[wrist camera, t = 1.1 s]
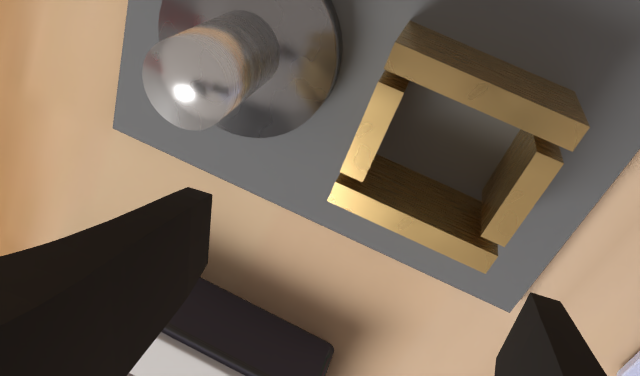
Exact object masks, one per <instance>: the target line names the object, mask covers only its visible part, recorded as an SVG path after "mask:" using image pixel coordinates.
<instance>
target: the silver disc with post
mask: <svg viewBox="0 0 640 376" xmlns="http://www.w3.org/2000/svg"><path fill="white" fill-rule="evenodd" d="M158 33H159V42H158V43H156V44H155V45H154V46H153V47H152V48H151V49H150V50H149V52H148V53H147V55H146V57H145V60H144V63H143V69H142V79H143V85H144V88H145V91H146V94H147V96H148V98H149V100H150V102H151V104H152V105H153V107H154V108H155V109H156V111H157V112H158V113H159V114H160V115H161V116H162V117H163V118H165V119H166V120H167V121H169V122H170V123H172V124H173V125H175V126H177V127H180V128H183V129H186V130H204V129H207V128H210V127H212V126H213V125H215V126H216V127H218V128H220V129H222V130H225V131H227V132H230V133H232V134H236V135H239V136H243V137H251V138H268V137H275V136H279V135H282V134H286V133H288V132H290V131H292V130H295V129H296V128H298V127H299V126H301V125H303V124H304V123H305V122H306V121H307V120H309V119H310V118H311V117H312V116H313V115H314V114H315V112H316V111H317V110H318V109H319V108H320V107H321V105H322V104H323V103H324V102H325V100H326V99H327V98H328V96H329V95H330V93H331V91H332V90H333V88H334V85H335V83H336V81H337V78H338V75H339V72H340V68H341V62H342V53H343V41H342V31H341V27H340V22H339V18H338V15H337V12H336V10H335V7H334V5H333V3H332V1H331V0H162V4H161V8H160V12H159V23H158Z"/></svg>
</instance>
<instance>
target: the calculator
mask: <svg viewBox="0 0 640 376" xmlns="http://www.w3.org/2000/svg"><path fill="white" fill-rule="evenodd" d="M333 352H334V348H333V346H332V345H331V344H329V343H328V342H326V341H324V340H322V339H320V338H318V337H316V336H314V335H312V334H310V333H309V332H307V331H305V330H303V329H301V328H299V327H297V326H295V325H293V324H291V323H289V322H287V321H285V320H283V319H281V318H279V317H277V316H275V315H273V314H271V313H269V312H267V311H265V310H263V309H261V308H259V307H257V306H255V305H254V304H252V303H250V302H248V301H246V300H244V299H242V298H240V297H238V296H236V295H234V294H232V293H230V292H228V291H226V290H224V289H222V288H220V287H218V286H216V285H214V284H212V283H210V282H208V281H206V280H204V279H202V278H200V277H199V279H198V281H197V283H196V284H195V286H194V288H193V289H192V291H191V293H190V294H189V296H188V298H187V299H186V300H185V302H184V303H183V304H182V306H181V307H180V308H179V310H178V311H177V312H176V313H175V315H174V316H173V317H172V319H171V320H170V321H169V323H168V324H167V325H166V326H165V328H164V329H163V330H162V332H161V333H160V334H159V335H158V337H157V338H156V339H155V340H154V342H153V343H152V344H151V346H150V347H149V348H148V349H147V351H146V352H145V353H144V354H143V356H142V357H141V358H140V360H139V361H138V362H137V363H136V365H135V366H134V367H133V369H132V370H131V371H130V372H129V374H128V375H127V376H325V375H326V372H327V369H328V367H329V364H330V361H331V358H332V355H333Z"/></svg>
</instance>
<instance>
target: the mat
mask: <svg viewBox="0 0 640 376" xmlns="http://www.w3.org/2000/svg"><path fill="white" fill-rule="evenodd" d="M331 1H332V3H333V5H334V7H335V10H336V12H337V15H338V18H339V22H340V27H341V31H342V41H343V53H342V62H341V68H340V72H339V75H338V78H337V81H336V83H335V85H334V88H333V90H332V91H331V93H330V95H329V96H328V98H327V99H326V100H325V102H324V103H323V104H322V105H321V107H320V108H319V109H318V110H317V111H316V112H315V114H314V115H313V116H312V117H311V118H310V119H309V120H307V121H306V122H305V123H304V124H303V125H301V126H299V127H298V128H296V129H295V130H292V131H290V132H288V133H286V134H282V135H279V136H275V137H268V138H251V137H243V136H239V135H236V134H232V133H230V132H227V131H225V130H222V129H220V128H218V127H216V126H215V125H213V126H212V127H210V128H207V129H204V130H186V129H183V128H180V127H177V126H175V125H173V124H172V123H170V122H169V121H167V120H166V119H165V118H163V117H162V116H161V115H160V114H159V113H158V112H157V111H156V109H155V108H154V107H153V105H152V104H151V102H150V100H149V98H148V96H147V94H146V91H145V88H144V85H143V79H142V69H143V63H144V60H145V57H146V55H147V53H148V52H149V50H150V49H151V48H152V47H153V46H154V45H155V44H156V43H158V42H159V33H158V23H159V12H160V8H161V4H162V0H128V8H127V16H126V24H125V32H124V40H123V48H122V57H121V65H120V73H119V81H118V89H117V97H116V105H115V113H114V121H113V129H115V130H118V131H120V132H122V133H124V134H126V135H128V136H131V137H133V138H135V139H137V140H139V141H141V142H143V143H146V144H148V145H150V146H152V147H154V148H156V149H158V150H161V151H163V152H165V153H167V154H169V155H171V156H174V157H176V158H178V159H180V160H182V161H184V162H186V163H189V164H191V165H193V166H195V167H197V168H199V169H201V170H204V171H206V172H208V173H210V174H212V175H214V176H217V177H219V178H221V179H223V180H225V181H227V182H229V183H232V184H234V185H236V186H238V187H240V188H242V189H244V190H247V191H249V192H251V193H253V194H255V195H257V196H260V197H262V198H264V199H266V200H268V201H270V202H272V203H275V204H277V205H279V206H281V207H283V208H285V209H287V210H290V211H292V212H294V213H296V214H298V215H300V216H303V217H305V218H307V219H309V220H311V221H313V222H315V223H318V224H320V225H322V226H324V227H326V228H328V229H330V230H333V231H335V232H337V233H339V234H341V235H343V236H346V237H348V238H350V239H352V240H354V241H356V242H358V243H361V244H363V245H365V246H367V247H369V248H371V249H374V250H376V251H378V252H380V253H382V254H384V255H386V256H389V257H391V258H393V259H395V260H397V261H399V262H401V263H404V264H406V265H408V266H410V267H412V268H414V269H417V270H419V271H421V272H423V273H425V274H427V275H429V276H432V277H434V278H436V279H438V280H440V281H442V282H444V283H447V284H449V285H451V286H453V287H455V288H457V289H460V290H462V291H464V292H466V293H468V294H470V295H472V296H475V297H477V298H479V299H481V300H483V301H485V302H487V303H490V304H492V305H494V306H496V307H498V308H500V309H503V310H505V311H507V312H509V313H510V312H511V310H512V309H513V308H514V307H515V305H516V304H517V303H518V302H519V300H520V299H521V298H522V297H523V295H524V294H525V293H526V291H527V290H528V289H529V288H530V286H531V285H532V284H533V283H534V281H535V280H536V279H537V278H538V276H539V275H540V274H541V273H542V271H543V270H544V269H545V268H546V266H547V265H548V264H549V262H550V261H551V260H552V259H553V257H554V256H555V255H556V254H557V252H558V251H559V250H560V249H561V247H562V246H563V245H564V244H565V242H566V241H567V240H568V239H569V237H570V236H571V235H572V233H573V232H574V231H575V230H576V228H577V227H578V226H579V225H580V223H581V222H582V221H583V220H584V218H585V217H586V216H587V215H588V213H589V212H590V211H591V210H592V208H593V207H594V206H595V205H596V203H597V202H598V201H599V199H600V198H601V197H602V196H603V194H604V193H605V192H606V191H607V189H608V188H609V187H610V186H611V184H612V183H613V182H614V181H615V179H616V178H617V177H618V176H619V174H620V173H621V172H622V170H623V169H624V168H625V167H626V165H627V164H628V163H629V162H630V160H631V159H632V158H633V157H634V155H635V154H636V153H637V152H638V150H639V149H640V0H331ZM409 20H410V21H412V22H415V23H417V24H419V25H422V26H424V27H426V28H429V29H431V30H433V31H436V32H438V33H440V34H443V35H445V36H447V37H449V38H452V39H454V40H456V41H459V42H461V43H463V44H466V45H468V46H470V47H473V48H475V49H477V50H480V51H482V52H484V53H487V54H489V55H491V56H494V57H496V58H498V59H501V60H503V61H505V62H508V63H510V64H512V65H514V66H517V67H519V68H521V69H524V70H526V71H528V72H531V73H533V74H535V75H538V76H540V77H542V78H545V79H547V80H549V81H552V82H554V83H556V84H559V85H561V86H563V87H566V88H568V89H570V90H572V91H575V93H576V96H577V98H578V100H579V103H580V105H581V107H582V109H583V112H584V114H585V116H586V119H587V121H588V123H589V126H590V128H589V129H588V131H587V132H586V134H585V135H584V136H583V138H582V139H581V141H580V142H579V143H578V145H577V146H576V148H575V149H574V150H573V152H572V151H569V150H567V149H565V148H563V147H560V146H559V147H560V151H561V155H562V158H563V162H564V164H563V166H562V167H561V169H560V170H559V172H558V173H557V174H556V176H555V177H554V179H553V180H552V181H551V183H550V184H549V186H548V187H547V188H546V190H545V191H544V193H543V194H542V195H541V197H540V198H539V200H538V201H537V202H536V204H535V205H534V207H533V208H532V209H531V211H530V212H529V214H528V215H527V217H526V218H525V219H524V221H523V222H522V224H521V225H520V226H519V228H518V229H517V231H516V232H515V233H514V235H513V236H512V238H511V239H510V240H509V242H508V243H507V245H506V246H505V247H503V246H501V245H499V244H498V257H497V259H496V260H495V262H494V263H493V264H492V266H491V267H490V269H489V270H488V271H487V273H486V274H484V273H482V272H480V271H478V270H476V269H473V268H471V267H469V266H467V265H465V264H463V263H460V262H458V261H456V260H454V259H452V258H450V257H447V256H445V255H443V254H441V253H439V252H437V251H434V250H432V249H430V248H428V247H426V246H424V245H421V244H419V243H417V242H415V241H413V240H411V239H408V238H406V237H404V236H402V235H400V234H398V233H395V232H393V231H391V230H389V229H387V228H385V227H382V226H380V225H378V224H376V223H374V222H372V221H369V220H367V219H365V218H363V217H361V216H359V215H356V214H354V213H352V212H350V211H348V210H346V209H343V208H341V207H339V206H337V205H335V204H333V203H330V202H328V201H327V200H328V198H329V196H330V193H331V191H332V189H333V186H334V184H335V182H336V180H337V178H338V176H339V174H340V173H341V172H340V170H341V167H342V165H343V163H344V160H345V158H346V156H347V153H348V151H349V149H350V146H351V144H352V142H353V139H354V137H355V135H356V132H357V130H358V128H359V125H360V123H361V121H362V118H363V116H364V114H365V111H366V109H367V106H368V104H369V102H370V99H371V97H372V95H373V92H374V90H375V88H376V85H377V83H378V81H379V79H380V78H381V76H382V75H383V73H384V71H385V69H384V67H385V64H386V62H387V60H388V57H389V55H390V53H391V50H392V48H393V46H394V43H395V41H396V40H397V38H398V37H399V35H400V34H401V32H402V31H403V29H404V28H405V26H406V25H407V23H408V22H409ZM519 131H520V129H519V128H517V127H515V126H512V125H510V124H508V123H506V122H503V121H501V120H499V119H496V118H494V117H492V116H490V115H487V114H485V113H483V112H481V111H478V110H476V109H474V108H471V107H469V106H467V105H465V104H462V103H460V102H458V101H456V100H453V99H451V98H449V97H446V96H444V95H442V94H440V93H437V92H435V91H433V90H430V89H428V88H426V87H424V86H421V85H419V84H417V83H415V82H412V81H409V83H408V85H407V88H406V90H405V92H404V94H403V97H402V99H401V101H400V103H399V105H398V107H397V109H396V112H395V114H394V116H393V118H392V120H391V122H390V125H389V127H388V129H387V131H386V133H385V135H384V138H383V140H382V142H381V144H380V146H379V148H378V151H377V153H376V154H378V155H380V156H382V157H384V158H387V159H389V160H391V161H393V162H395V163H398V164H400V165H402V166H404V167H407V168H409V169H411V170H413V171H415V172H418V173H420V174H422V175H424V176H427V177H429V178H431V179H433V180H435V181H438V182H440V183H442V184H444V185H446V186H449V187H451V188H453V189H455V190H458V191H460V192H462V193H464V194H466V195H469V196H471V197H473V198H475V199H477V200H480V201H482V190H483V188H484V187H485V185H486V183H487V182H488V180H489V179H490V177H491V175H492V174H493V172H494V171H495V169H496V167H497V166H498V164H499V163H500V161H501V159H502V158H503V156H504V155H505V153H506V151H507V150H508V148H509V147H510V145H511V144H512V142H513V140H514V139H515V137H516V136H517V134H518V132H519Z"/></svg>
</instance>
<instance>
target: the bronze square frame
mask: <svg viewBox="0 0 640 376" xmlns="http://www.w3.org/2000/svg"><path fill="white" fill-rule="evenodd" d="M384 69H385V71H384V73H383V75H382V76H381V78H380V79H379V81H378V83H377V85H376V88H375V90H374V92H373V95H372V97H371V99H370V102H369V104H368V106H367V109H366V111H365V114H364V116H363V118H362V121H361V123H360V125H359V128H358V130H357V132H356V135H355V137H354V139H353V142H352V144H351V146H350V149H349V151H348V153H347V156H346V158H345V160H344V163H343V165H342V167H341V170H340V172H341V173H340V174H339V176H338V178H337V180H336V182H335V184H334V186H333V189H332V191H331V193H330V196H329V198H328V200H327V201H328V202H330V203H333V204H335V205H337V206H339V207H341V208H343V209H346V210H348V211H350V212H352V213H354V214H356V215H359V216H361V217H363V218H365V219H367V220H369V221H372V222H374V223H376V224H378V225H380V226H382V227H385V228H387V229H389V230H391V231H393V232H395V233H398V234H400V235H402V236H404V237H406V238H408V239H411V240H413V241H415V242H417V243H419V244H421V245H424V246H426V247H428V248H430V249H432V250H434V251H437V252H439V253H441V254H443V255H445V256H447V257H450V258H452V259H454V260H456V261H458V262H460V263H463V264H465V265H467V266H469V267H471V268H473V269H476V270H478V271H480V272H482V273H484V274H486V273H487V271H488V270H489V269H490V267H491V266H492V264H493V263H494V262H495V260H496V259H497V257H498V244H499V245H501V246H503V247H505V246H506V245H507V243H508V242H509V240H510V239H511V238H512V236H513V235H514V233H515V232H516V231H517V229H518V228H519V226H520V225H521V224H522V222H523V221H524V219H525V218H526V217H527V215H528V214H529V212H530V211H531V209H532V208H533V207H534V205H535V204H536V202H537V201H538V200H539V198H540V197H541V195H542V194H543V193H544V191H545V190H546V188H547V187H548V186H549V184H550V183H551V181H552V180H553V179H554V177H555V176H556V174H557V173H558V172H559V170H560V169H561V167H562V166H563V164H564V162H563V158H562V155H561V151H560V147H563V148H565V149H567V150H569V151H572V152H573V150H574V149H575V148H576V146H577V145H578V143H579V142H580V141H581V139H582V138H583V136H584V135H585V134H586V132H587V131H588V129H589V128H590V126H589V123H588V121H587V119H586V116H585V114H584V112H583V109H582V107H581V105H580V103H579V100H578V98H577V96H576V93H575V91H572V90H570V89H568V88H566V87H563V86H561V85H559V84H556V83H554V82H552V81H549V80H547V79H545V78H542V77H540V76H538V75H535V74H533V73H531V72H528V71H526V70H524V69H521V68H519V67H517V66H514V65H512V64H510V63H508V62H505V61H503V60H501V59H498V58H496V57H494V56H491V55H489V54H487V53H484V52H482V51H480V50H477V49H475V48H473V47H470V46H468V45H466V44H463V43H461V42H459V41H456V40H454V39H452V38H449V37H447V36H445V35H443V34H440V33H438V32H436V31H433V30H431V29H429V28H426V27H424V26H422V25H419V24H417V23H415V22H412V21H410V20H409V22H408V23H407V25H406V26H405V28H404V29H403V31H402V32H401V34H400V35H399V37H398V38H397V40H396V41H395V43H394V46H393V48H392V50H391V53H390V55H389V57H388V60H387V62H386V64H385V67H384ZM409 81H412V82H415V83H417V84H419V85H421V86H424V87H426V88H428V89H430V90H433V91H435V92H437V93H440V94H442V95H444V96H446V97H449V98H451V99H453V100H456V101H458V102H460V103H462V104H465V105H467V106H469V107H471V108H474V109H476V110H478V111H481V112H483V113H485V114H487V115H490V116H492V117H494V118H496V119H499V120H501V121H503V122H506V123H508V124H510V125H512V126H515V127H517V128H519V129H520V131H519V132H518V134H517V136H516V137H515V139H514V140H513V142H512V144H511V145H510V147H509V148H508V150H507V151H506V153H505V155H504V156H503V158H502V159H501V161H500V163H499V164H498V166H497V167H496V169H495V171H494V172H493V174H492V175H491V177H490V179H489V180H488V182H487V183H486V185H485V187H484V188H483V190H482V201H480V200H477V199H475V198H473V197H471V196H469V195H466V194H464V193H462V192H460V191H458V190H455V189H453V188H451V187H449V186H446V185H444V184H442V183H440V182H438V181H435V180H433V179H431V178H429V177H427V176H424V175H422V174H420V173H418V172H415V171H413V170H411V169H409V168H407V167H404V166H402V165H400V164H398V163H395V162H393V161H391V160H389V159H387V158H384V157H382V156H380V155H378V154H376V153H377V151H378V148H379V146H380V144H381V142H382V140H383V138H384V135H385V133H386V131H387V129H388V127H389V125H390V122H391V120H392V118H393V116H394V114H395V112H396V109H397V107H398V105H399V103H400V101H401V99H402V97H403V94H404V92H405V90H406V88H407V85H408V83H409ZM559 146H560V147H559Z"/></svg>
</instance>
